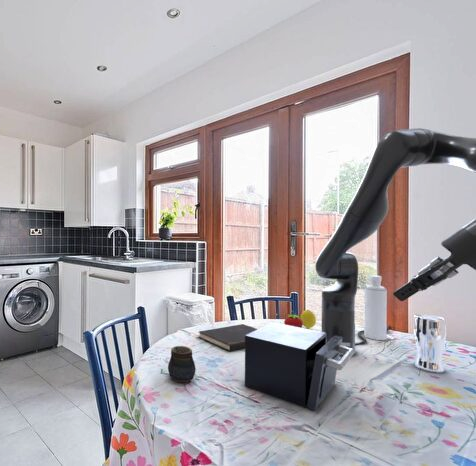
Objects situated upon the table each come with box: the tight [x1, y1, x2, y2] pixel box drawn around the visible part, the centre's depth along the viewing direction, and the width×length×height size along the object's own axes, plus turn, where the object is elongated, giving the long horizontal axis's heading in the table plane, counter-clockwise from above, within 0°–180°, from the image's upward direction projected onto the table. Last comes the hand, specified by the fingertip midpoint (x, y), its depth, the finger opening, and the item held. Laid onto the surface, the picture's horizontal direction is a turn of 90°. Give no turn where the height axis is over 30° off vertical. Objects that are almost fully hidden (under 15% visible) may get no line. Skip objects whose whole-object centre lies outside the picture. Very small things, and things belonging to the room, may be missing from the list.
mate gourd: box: [167, 345, 197, 384], centre depth 84 cm, size 7×8×10 cm
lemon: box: [299, 309, 317, 329], centre depth 130 cm, size 6×6×8 cm
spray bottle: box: [363, 275, 388, 341], centre depth 120 cm, size 7×7×25 cm
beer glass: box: [412, 313, 447, 374], centre depth 92 cm, size 7×7×15 cm
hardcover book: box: [197, 323, 258, 352], centre depth 116 cm, size 16×23×2 cm
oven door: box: [306, 335, 356, 411], centre depth 74 cm, size 5×18×13 cm, turn 135°
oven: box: [244, 321, 326, 409], centre depth 82 cm, size 14×18×13 cm
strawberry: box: [283, 312, 303, 328], centre depth 120 cm, size 6×8×10 cm
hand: (397, 297), depth 66 cm, fingers closed
